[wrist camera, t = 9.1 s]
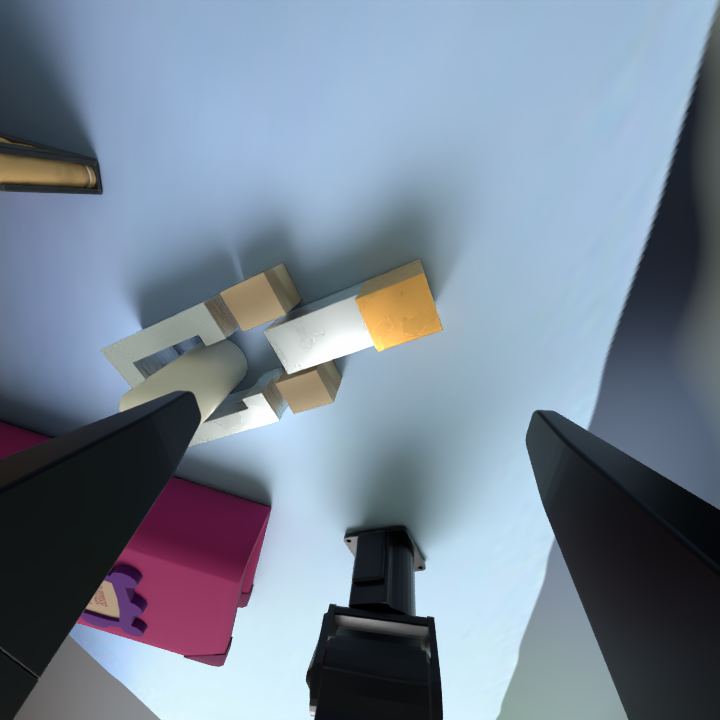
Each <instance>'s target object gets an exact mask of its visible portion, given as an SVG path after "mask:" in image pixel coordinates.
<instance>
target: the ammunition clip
mask: <svg viewBox="0 0 720 720" xmlns="http://www.w3.org/2000/svg"><path fill="white" fill-rule="evenodd" d="M0 191H8V192H38V193H68V194H98V195H101V194H102V190H101V183H100V177H99V170H98V164H97V161H96V159H94V158H90V157H86V156H83V155H79V154H75V153H72V152H68V151H64V150H61V149H57V148H53V147H49V146H46V145H42V144H38V143H35V142H31V141H27V140H24V139H20V138H16V137H13V136H9V135H5V134H2V133H0Z"/></svg>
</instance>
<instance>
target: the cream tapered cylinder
mask: <svg viewBox="0 0 720 720" xmlns="http://www.w3.org/2000/svg"><path fill="white" fill-rule="evenodd" d="M247 369H248V365H247V360H246V357H245V355H244V354H243V352H242V351H241V350H240V348H239V347H238V346H237V345H235V344H234V343H233V342H231V341H229V340H227V339H223V340H221V341H218V342H216V343H214V344H211V345H209V346H206V345H205V344H204V342H203V341H201V342H200V343H198V344H197V345H195V346H194V347H192V348H191V349H189V350H188V351H187V352H185V353H184V354H182V355H181V356H179V357H178V358H176V359H175V360H173V361H172V362H170V363H169V364H168V365H166V366H165V367H163V368H162V369H160V370H159V371H157V372H156V373H154V374H153V375H151V376H150V377H148V378H147V379H146V380H144V381H143V382H141V383H140V384H138V385H137V386H135V387H134V388H132V389H131V390H129V391H128V392H127V393H125V394H124V395H123V396H122V398H121V399H120V403H119V410H120V412H122V411H125V410H127V409H130V408H133V407H135V406H138V405H140V404H143V403H146V402H148V401H151V400H153V399H156V398H158V397H161V396H164V395H166V394H169V393H171V392H174V391H178V390H181V391H191V392H193V393H194V395H195V397H196V400H197V403H198V406H199V409H200V412H201V417H202V418H201V423H200V425H201V424H202V423H203V422H204V421H205V420H206V419H207V418H208V417H209V416H210V414H211V413H212V412H213V411H214V410H215V409H216V408H217V407H218V406H219V405H220V404H221V402H222V401H223V400H224V399H225V398H226V397H227V396H228V395H229V394H230V393H231V392H232V390H233V389H234V388H235V387H236V386H237V385H238V384H239V383H240V382H241V381H242V380H243V378H244V377H245V376H246V373H247ZM200 425H199V427H200ZM199 427H198V428H199Z"/></svg>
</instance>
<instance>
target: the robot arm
mask: <svg viewBox="0 0 720 720" xmlns="http://www.w3.org/2000/svg"><path fill="white" fill-rule="evenodd" d="M201 418H202V417H201V412H200V409H199V406H198V403H197V400H196V397H195V395H194V393H193V392H191V391H181V390H178V391H174V392H171V393H169V394H166V395H164V396H161V397H158V398H156V399H153V400H151V401H148V402H146V403H143V404H140V405H138V406H135V407H133V408H130V409H127V410H125V411H122V412H120V413H117V414H115V415H112V416H109V417H107V418H104V419H102V420H99V421H97V422H94V423H91V424H89V425H86V426H84V427H81V428H79V429H76V430H73V431H71V432H68V433H66V434H63V435H61V436H58V437H55V438H53V439H50V440H48V441H45V442H43V443H40V444H37V445H35V446H32V447H30V448H27V449H25V450H22V451H19V452H17V453H14V454H12V455H9V456H7V457H6V458H4V459H0V720H14V718H15V717H16V715H17V713H18V712H19V710H20V709H21V707H22V706H23V704H24V703H25V701H26V700H27V698H28V697H29V695H30V693H31V692H32V690H33V689H34V687H35V686H36V684H37V683H38V681H39V679H38V678H40V677H41V676H42V675H43V673H44V671H45V670H46V668H47V667H48V665H49V664H50V662H51V661H52V659H53V658H54V656H55V655H56V653H57V651H58V650H59V648H60V647H61V645H62V644H63V642H64V641H65V639H66V638H67V636H68V635H69V633H70V632H71V630H72V629H73V627H74V625H75V624H76V622H77V621H78V619H79V618H80V616H81V615H82V613H83V612H84V610H85V609H86V607H87V606H88V604H89V602H90V601H91V599H92V598H93V596H94V595H95V593H96V592H97V590H98V589H99V587H100V586H101V584H102V583H103V581H104V579H105V578H106V576H107V575H108V573H109V572H110V570H111V569H112V567H113V566H114V564H115V563H116V561H117V560H118V558H119V556H120V555H121V553H122V552H123V550H124V549H125V547H126V546H127V544H128V543H129V541H130V540H131V538H132V537H133V535H134V533H135V532H136V530H137V529H138V527H139V526H140V524H141V523H142V521H143V520H144V518H145V517H146V515H147V514H148V512H149V510H150V509H151V507H152V506H153V504H154V503H155V501H156V500H157V498H158V497H159V495H160V494H161V492H162V491H163V489H164V487H165V486H166V484H167V483H168V481H169V480H170V478H171V477H172V475H173V473H174V472H175V470H176V468H177V467H178V465H179V463H180V461H181V459H182V457H183V455H184V453H185V451H186V450H187V448H188V446H189V444H190V442H191V440H192V438H193V436H194V434H195V432H196V431H197V429H198V427H199V425H200V423H201ZM526 446H527V450H528V454H529V457H530V461H531V465H532V468H533V472H534V475H535V479H536V483H537V486H538V490H539V494H540V497H541V500H542V504H543V506H544V509H545V512H546V514H547V517H548V519H549V522H550V524H551V527H552V529H553V532H554V534H555V537H556V539H557V542H558V544H559V547H560V549H561V552H562V554H563V557H564V559H565V562H566V564H567V567H568V570H569V572H570V575H571V577H572V580H573V582H574V585H575V587H576V590H577V592H578V595H579V597H580V599H581V602H582V605H583V607H584V610H585V612H586V615H587V617H588V620H589V622H590V625H591V627H592V630H593V632H594V634H595V637H596V640H597V642H598V645H599V647H600V650H601V652H602V655H603V657H604V660H605V662H606V664H607V667H608V670H609V672H610V674H611V677H612V680H613V682H614V685H615V687H616V690H617V692H618V695H619V697H620V700H621V702H622V705H623V707H624V710H625V712H626V714H627V717H628V720H720V510H719V509H717V508H716V507H714V506H712V505H711V504H709V503H707V502H705V501H704V500H702V499H701V498H699V497H697V496H696V495H694V494H692V493H691V492H689V491H687V490H686V489H684V488H682V487H681V486H679V485H677V484H676V483H674V482H672V481H671V480H669V479H667V478H666V477H664V476H662V475H660V474H659V473H657V472H656V471H654V470H652V469H651V468H649V467H647V466H645V465H643V464H642V463H640V462H639V461H637V460H636V459H634V458H632V457H630V456H629V455H627V454H625V453H624V452H622V451H620V450H619V449H617V448H615V447H614V446H612V445H610V444H609V443H607V442H605V441H604V440H602V439H600V438H599V437H597V436H595V435H594V434H592V433H590V432H589V431H587V430H585V429H584V428H582V427H580V426H579V425H577V424H575V423H574V422H572V421H570V420H569V419H567V418H565V417H564V416H562V415H560V414H559V413H557V412H555V411H550V410H536V411H534V413H533V415H532V418H531V421H530V424H529V428H528V431H527V434H526ZM344 542H345V543H346V545H347V546H348V548H349V549H350V551H351V552H352V554H353V555H354V557H355V560H354V568H353V575H352V585H351V592H350V599H349V607H341V606H336V604H330V605H329V609H328V613H325V614H324V617H323V622H322V627H321V632H320V636H319V640H318V643H317V646H316V649H315V651H314V654H313V657H312V660H311V663H310V665H309V668H308V671H307V675H306V682H307V685H308V687H309V689H310V715H311V716H315V719H314V720H443V706H442V689H441V677H440V668H439V658H438V649H437V640H436V631H435V622H434V617H430V616H427V618H426V617H419V616H416V609H415V574H414V571H422V570H425V568H426V567H425V562H424V560H423V558H422V556H421V554H420V552H419V551H418V549H417V547H416V545H415V543H414V541H413V539H412V537H411V535H410V534H409V532H408V530H407V528H406V527H404V526H397V527H390V528H384V529H377V530H370V531H363V532H357V533H350V534H346V535H345V536H344Z"/></svg>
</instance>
